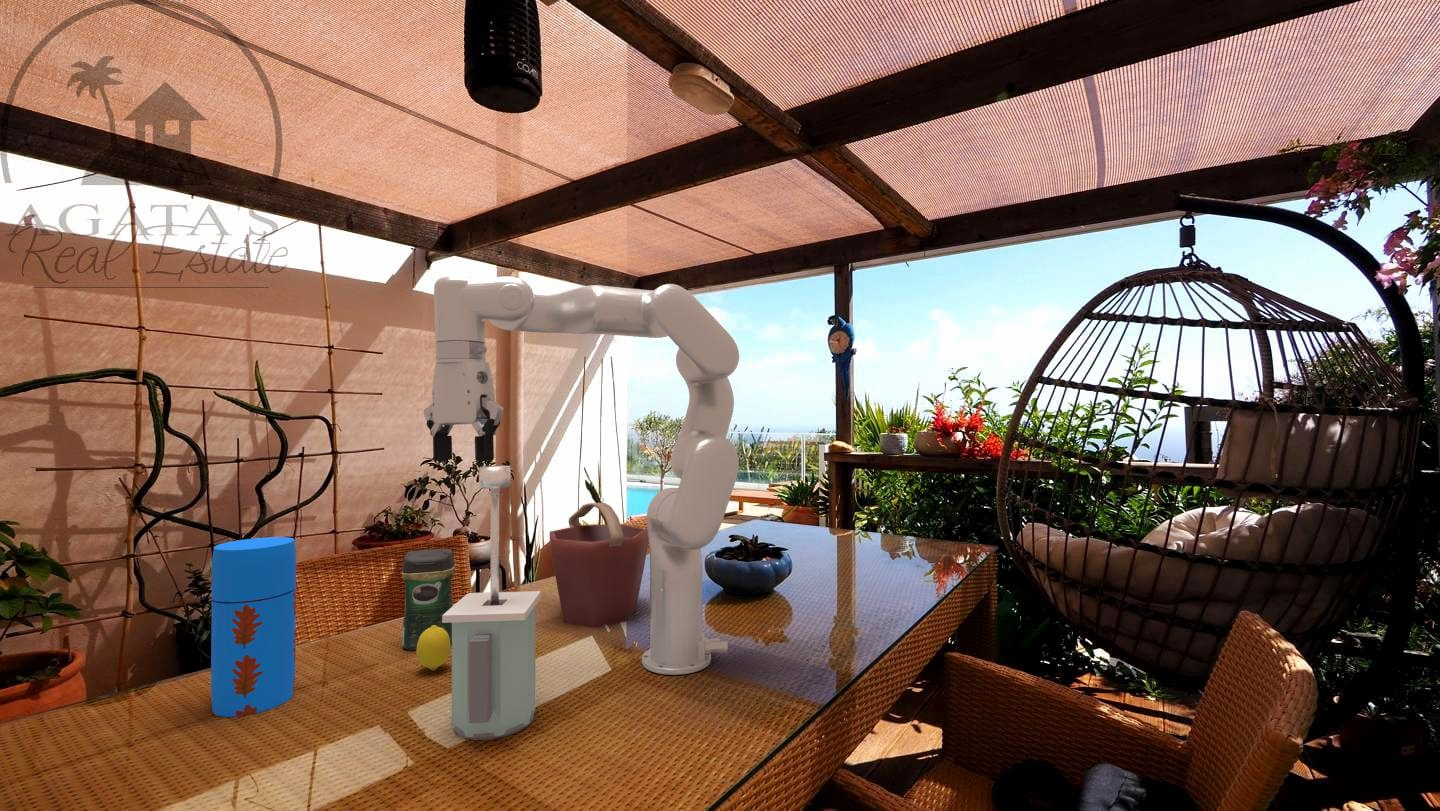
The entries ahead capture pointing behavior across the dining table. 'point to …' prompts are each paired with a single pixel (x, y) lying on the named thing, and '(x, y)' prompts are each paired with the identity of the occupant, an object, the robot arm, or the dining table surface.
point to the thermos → (253, 625)
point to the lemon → (433, 647)
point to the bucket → (598, 568)
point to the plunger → (494, 517)
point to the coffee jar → (426, 592)
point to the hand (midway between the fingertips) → (463, 460)
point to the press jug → (493, 664)
